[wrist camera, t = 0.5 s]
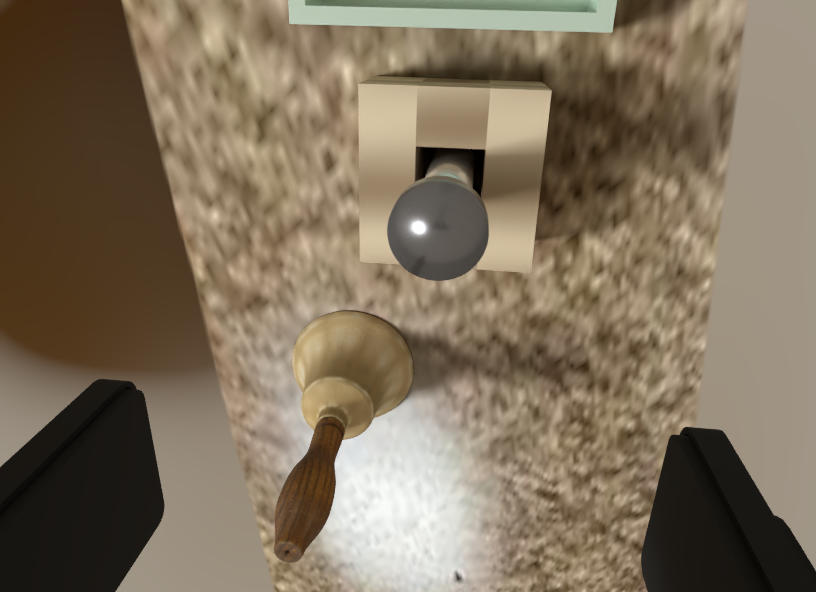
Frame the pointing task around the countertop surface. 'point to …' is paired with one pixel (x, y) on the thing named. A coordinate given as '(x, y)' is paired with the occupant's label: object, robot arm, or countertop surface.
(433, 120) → the hitch block
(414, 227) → the steel pin
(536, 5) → the tray
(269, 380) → the countertop surface
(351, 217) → the countertop surface
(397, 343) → the hand bell
